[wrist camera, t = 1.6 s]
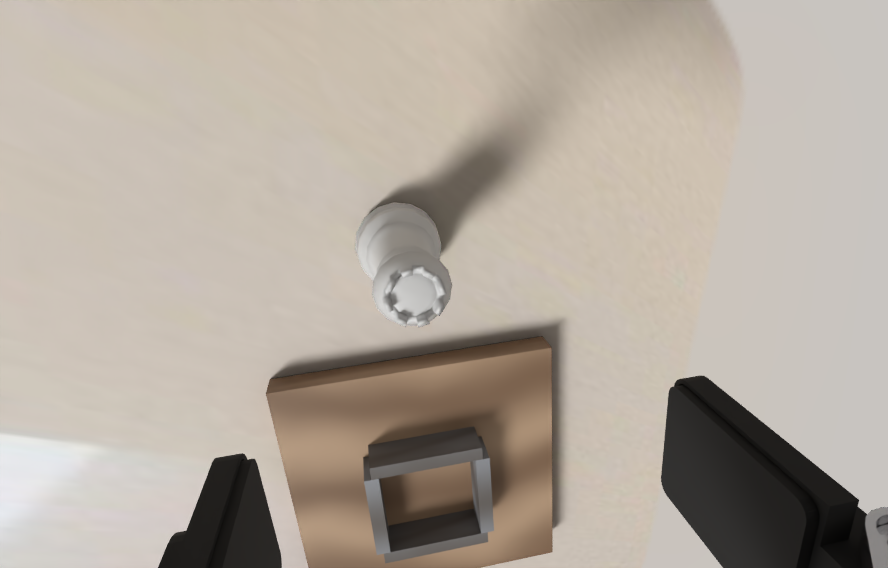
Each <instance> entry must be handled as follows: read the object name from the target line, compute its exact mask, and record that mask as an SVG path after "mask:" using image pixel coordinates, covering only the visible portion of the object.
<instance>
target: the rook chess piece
mask: <svg viewBox="0 0 888 568" xmlns="http://www.w3.org/2000/svg"><path fill="white" fill-rule="evenodd" d="M355 250H356V253H357V256H358V259H359V262H360V265H361V268H362V270H363V271H364V272H365V273H366V274H367V275H368V276H369V277H370V278H371V279H372V280H373V289H372V296H373V299H374V302H375V304H376V307H377V309H378V310H379V311H380V312H381V313H382V314H383V315H384V316H385V317H386V318H387V319H388V320H390V321H393V322H395V323H397V324H399V325H402V326H405V327H406V325H410V326H417V325H418V327H421V326H424V325H427V324H430V323H429V321H431V320H432V319H434V318H435V317H436V316H438V315H439V316H440V314H441V313H442V312H443V310H444V308H445V307H446V305H447V303H448V301H449V300H450V295H451V288H452V283H451V279H450V276H449V272H448V270H447V269H446V267H445V266H444V265H443V264H442V263H441V261H440V252H441V241H440V237H439V234H438V230H437V227H436V224H435V223H434V222H433V220H432V219H431V218H430V217H429V215H428V214H427V213H426V212H425V211H423V210H421V209H419V208H418V207H416V206H414V205H412V204H406V203H395V202H393V203H390V204H387V205H383V206H380V207H377V208H376V209H375V210H373V211H372V212H371V213H370V214H369V215H367V216H366V217H365V218H364V219H363V221H362V223H361V225H360V227H359V229H358V231H357V233H356V244H355Z"/></svg>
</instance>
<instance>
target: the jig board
mask: <svg viewBox="0 0 888 568" xmlns="http://www.w3.org/2000/svg"><path fill="white" fill-rule="evenodd" d="M266 396H267V400H268V404H269V408H270V412H271V416H272V420H273V424H274V428H275V432H276V436H277V441H278V445H279V449H280V453H281V457H282V461H283V465H284V469H285V473H286V477H287V481H288V485H289V490H290V494H291V498H292V502H293V506H294V510H295V514H296V518H297V522H298V526H299V530H300V534H301V538H302V543H303V547H304V551H305V555H306V559H307V563H308V567H309V568H481V567H485V566H490V565H495V564H499V563H504V562H509V561H513V560H518V559H522V558H527V557H532V556H536V555H541V554H546V553H550V552H552V348H551V347H550V345H549V344H548V343H547V341H546V340H545V339H544V338H543V336H541V337H535V338H528V339H522V340H516V341H509V342H503V343H497V344H490V345H484V346H478V347H471V348H465V349H459V350H452V351H446V352H440V353H433V354H427V355H421V356H414V357H408V358H401V359H395V360H389V361H382V362H376V363H370V364H363V365H357V366H351V367H344V368H338V369H332V370H325V371H319V372H313V373H306V374H300V375H294V376H287V377H281V378H275V379H270V381H269V385H268V388H267V392H266Z"/></svg>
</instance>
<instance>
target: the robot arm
mask: <svg viewBox="0 0 888 568" xmlns="http://www.w3.org/2000/svg"><path fill="white" fill-rule="evenodd" d="M661 482H662V486H663V489H664V491H665V493H666V495H667V496H668V497H669V499H670V500H671V501H672V503H673V504H674V505H675V507H676V508H677V509H678V510H679V512H680V513H681V514H682V515H683V517H684V518H685V519H686V521H687V522H688V523H689V524H690V525H691V527H692V528H693V529H694V531H695V532H696V533H697V535H698V536H699V537H700V539H701V540H702V541H703V542H704V544H705V545H706V546H707V547H708V549H709V550H710V551H711V553H712V554H713V555H714V557H715V558H716V559H717V560H718V562H719V563H720V564H721V566H722V567H723V568H888V507H883V508H882V507H881V508H879V509H875V510H872V511H871V512H870V513H869V514H868V515H867V514H866V513H865V512H864V511H862V510H861V509H860V508H859V507H858V502H859V500H858V499H857V498H856V497H854V496H853V495H852V494H851V493H849V492H848V491H847V490H846V489H845V488H843V487H842V486H841V485H840V484H838V483H837V482H836V481H835V480H833V479H832V478H831V477H830V476H828V475H827V474H826V473H825V472H824V471H822V470H821V469H820V468H819V467H817V466H816V465H815V464H814V463H812V462H811V461H810V460H809V459H807V458H806V457H805V456H804V455H802V454H801V453H800V452H799V451H797V450H796V449H795V448H794V447H792V446H791V445H790V444H789V443H788V442H786V441H785V440H784V439H782V438H781V437H780V436H779V435H778V434H776V433H775V432H774V431H773V430H771V429H770V428H769V427H768V426H766V425H765V424H764V423H763V422H761V421H760V420H759V419H758V418H756V417H755V416H754V415H753V414H752V413H750V412H749V411H747V410H746V409H745V408H744V407H743V406H742V405H740V404H739V403H738V402H737V401H735V400H734V399H733V398H731V397H730V396H729V395H728V394H727V393H725V392H724V391H723V390H722V389H720V388H719V387H718V386H717V385H715V384H714V383H713V382H712V381H711V380H709V379H708V378H706V377H705V376H695V377H689V378H684V379H679V380H677V381H676V383H675V385H674V387H671V388H670V390H669V396H668V407H667V418H666V430H665V441H664V452H663V464H662V475H661ZM281 567H282V563H281V553H280V549H279V545H278V542H277V538H276V534H275V530H274V526H273V523H272V519H271V515H270V511H269V507H268V504H267V500H266V496H265V492H264V489H263V485H262V481H261V477H260V473H259V470H258V466H257V463H256V460H255V459H249V460H247V458H246V456H245V454H243V453H242V454H236V455H230V456H225V457H219V458H215V459H214V461H213V462H212V465H211V467H210V470H209V473H208V475H207V478H206V481H205V483H204V486H203V489H202V491H201V494H200V497H199V499H198V502H197V504H196V507H195V510H194V512H193V515H192V518H191V520H190V523H189V526H188V528H187V531H183V532H178V533H175V534H174V535H173V536H172V537H171V539H170V541H169V543H168V545H167V547H166V550H165V552H164V555H163V557H162V560H161V562H160V564H159V567H158V568H281Z"/></svg>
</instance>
